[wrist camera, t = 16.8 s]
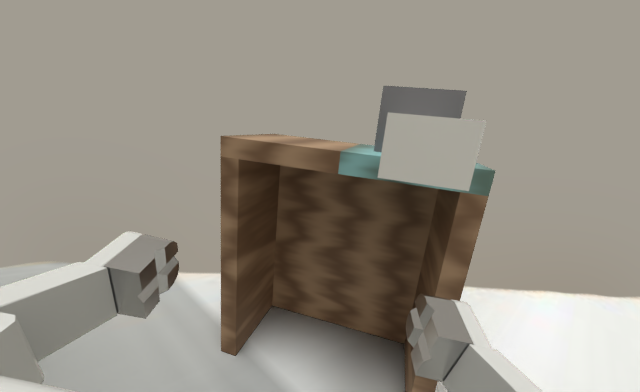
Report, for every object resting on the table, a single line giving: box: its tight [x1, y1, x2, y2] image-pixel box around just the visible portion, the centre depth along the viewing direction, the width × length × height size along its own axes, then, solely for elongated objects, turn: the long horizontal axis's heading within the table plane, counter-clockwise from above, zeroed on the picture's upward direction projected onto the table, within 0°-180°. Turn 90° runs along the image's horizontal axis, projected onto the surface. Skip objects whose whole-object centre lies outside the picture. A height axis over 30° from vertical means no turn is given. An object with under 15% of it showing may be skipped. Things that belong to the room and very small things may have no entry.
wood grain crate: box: [221, 134, 495, 392], centre depth 32 cm, size 24×12×26 cm, turn 73°
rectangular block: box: [374, 86, 486, 191], centre depth 21 cm, size 7×20×6 cm, turn 163°
